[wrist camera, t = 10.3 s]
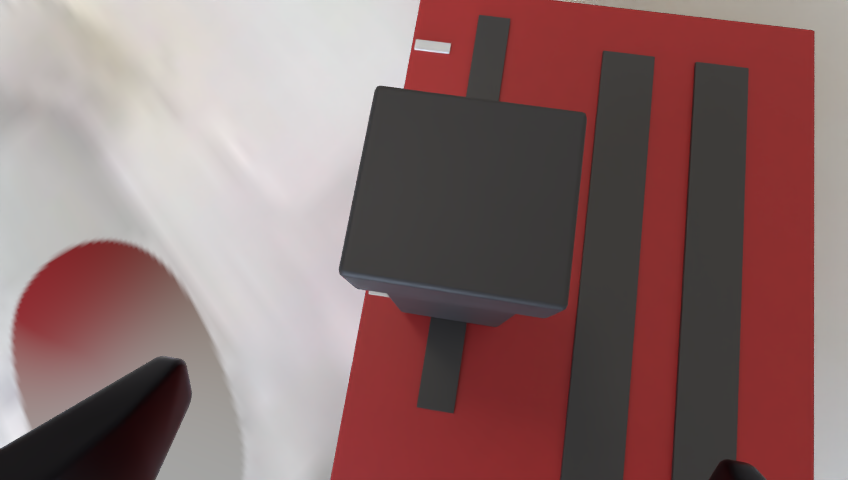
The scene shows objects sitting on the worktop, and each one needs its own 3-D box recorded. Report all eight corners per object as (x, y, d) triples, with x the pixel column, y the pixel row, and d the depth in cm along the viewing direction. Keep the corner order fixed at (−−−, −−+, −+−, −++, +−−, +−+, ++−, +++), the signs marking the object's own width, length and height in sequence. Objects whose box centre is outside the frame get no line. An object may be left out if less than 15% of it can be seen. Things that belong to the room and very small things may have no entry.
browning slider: (502, 339, 13) (568, 310, 6) (392, 321, 13) (335, 274, 6) (515, 239, 13) (589, 110, 7) (409, 223, 14) (375, 82, 7)
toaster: (668, 566, 19) (828, 710, 11) (355, 506, 20) (296, 601, 12) (692, 141, 23) (825, 21, 15) (426, 106, 23) (417, -25, 15)
